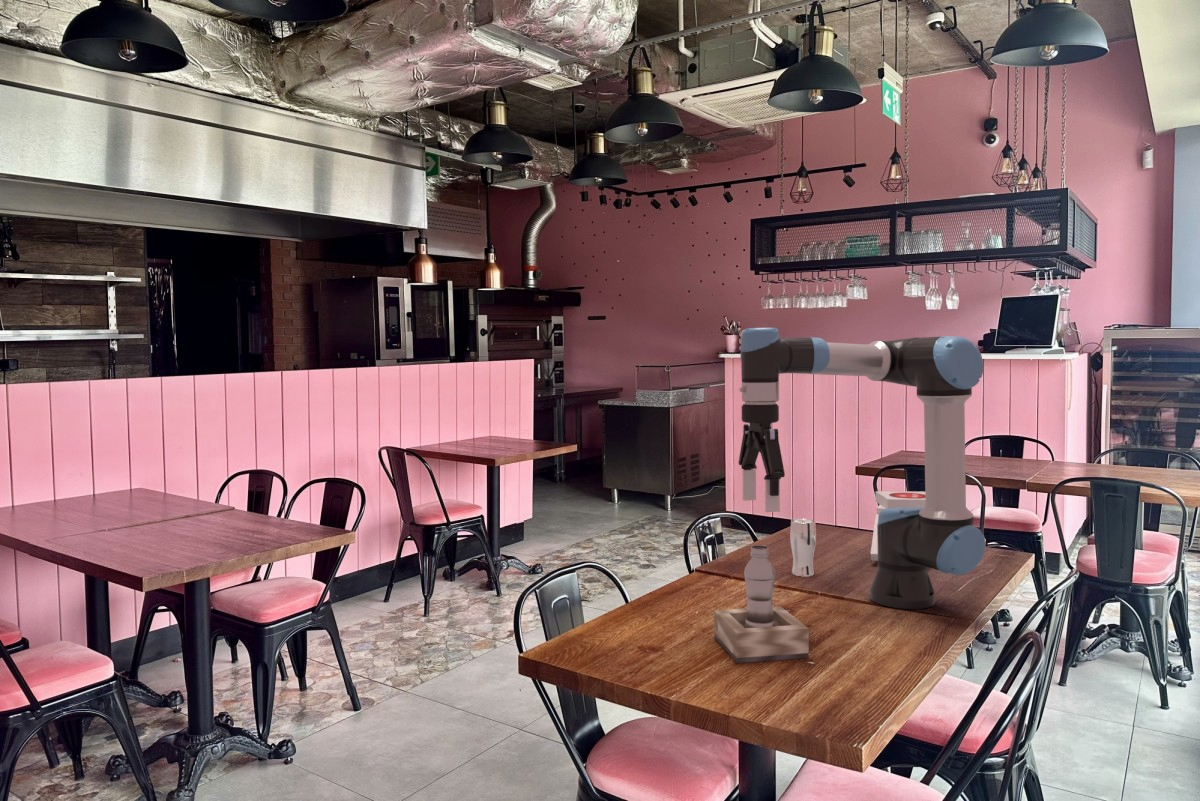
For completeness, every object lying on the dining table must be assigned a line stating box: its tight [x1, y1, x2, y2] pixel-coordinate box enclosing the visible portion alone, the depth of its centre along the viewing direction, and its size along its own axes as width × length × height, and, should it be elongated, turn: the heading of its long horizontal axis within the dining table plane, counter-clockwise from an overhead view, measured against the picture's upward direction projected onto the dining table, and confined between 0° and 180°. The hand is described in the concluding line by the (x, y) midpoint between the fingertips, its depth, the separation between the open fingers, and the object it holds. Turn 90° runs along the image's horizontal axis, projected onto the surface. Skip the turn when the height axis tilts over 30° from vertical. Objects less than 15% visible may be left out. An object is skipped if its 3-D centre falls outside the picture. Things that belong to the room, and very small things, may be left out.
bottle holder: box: [713, 605, 810, 664], centre depth 172 cm, size 15×15×6 cm
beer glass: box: [789, 518, 817, 578], centre depth 229 cm, size 7×7×15 cm
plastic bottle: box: [743, 544, 776, 628], centre depth 172 cm, size 6×7×20 cm
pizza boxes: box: [870, 490, 926, 562], centre depth 246 cm, size 19×30×18 cm, turn 154°
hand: (760, 505), depth 170 cm, fingers open, 13 cm apart
